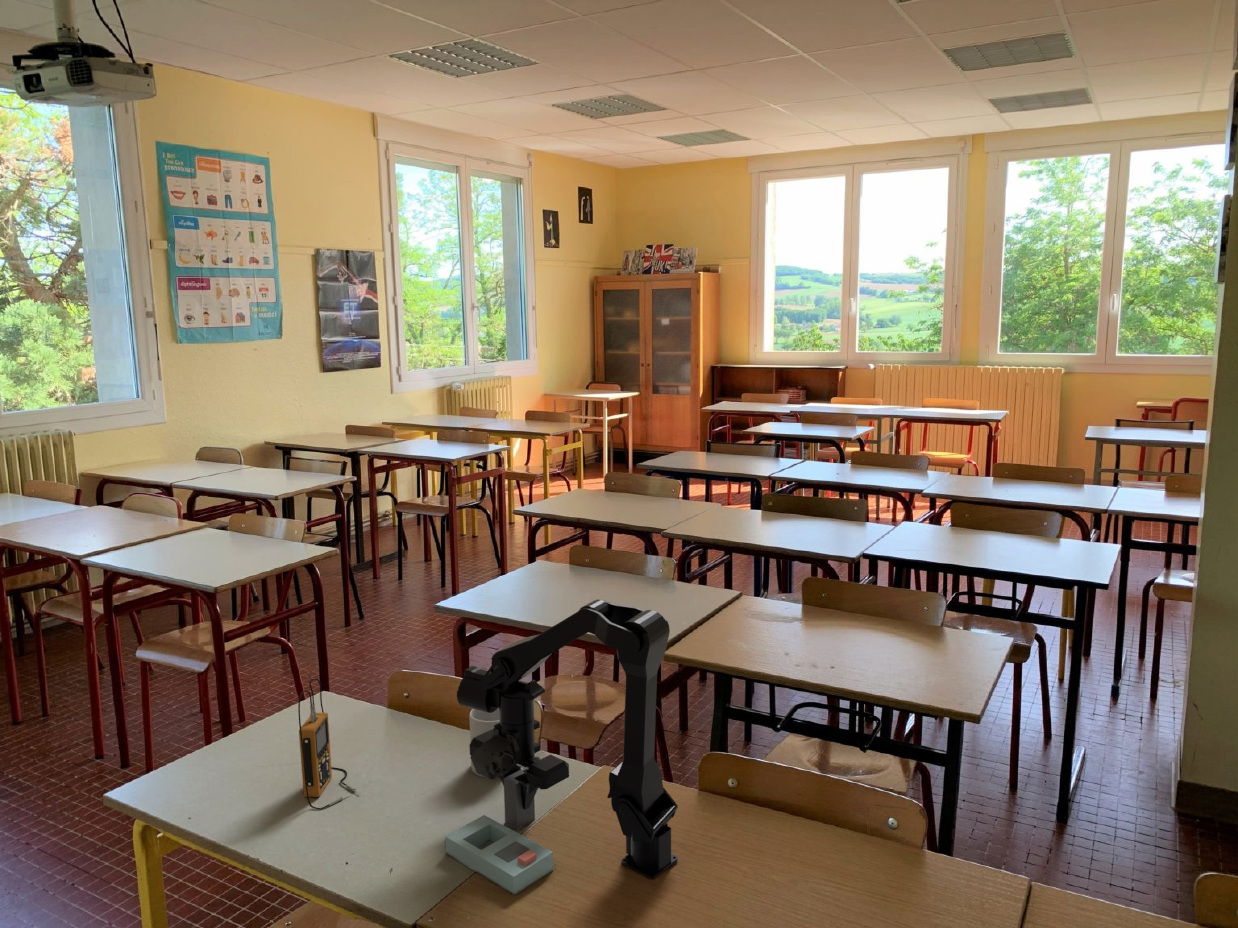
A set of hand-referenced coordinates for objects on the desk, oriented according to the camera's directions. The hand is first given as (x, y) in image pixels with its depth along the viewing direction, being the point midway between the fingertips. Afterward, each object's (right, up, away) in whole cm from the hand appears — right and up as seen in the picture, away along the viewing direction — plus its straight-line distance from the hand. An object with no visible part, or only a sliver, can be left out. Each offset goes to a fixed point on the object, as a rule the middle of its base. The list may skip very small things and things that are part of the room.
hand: (519, 804), depth 152 cm
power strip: (-2, -5, -11) cm, 12 cm away
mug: (-6, 0, +20) cm, 21 cm away
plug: (0, -3, 0) cm, 3 cm away
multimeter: (-34, -2, +12) cm, 36 cm away
